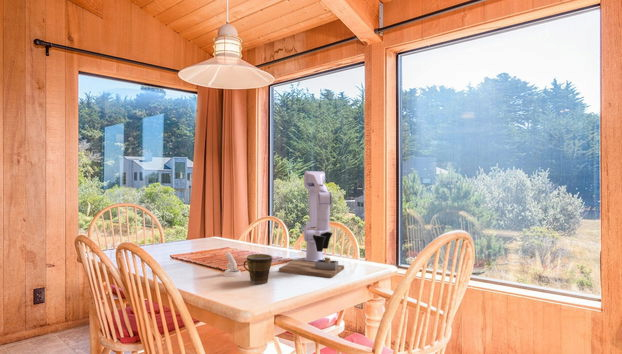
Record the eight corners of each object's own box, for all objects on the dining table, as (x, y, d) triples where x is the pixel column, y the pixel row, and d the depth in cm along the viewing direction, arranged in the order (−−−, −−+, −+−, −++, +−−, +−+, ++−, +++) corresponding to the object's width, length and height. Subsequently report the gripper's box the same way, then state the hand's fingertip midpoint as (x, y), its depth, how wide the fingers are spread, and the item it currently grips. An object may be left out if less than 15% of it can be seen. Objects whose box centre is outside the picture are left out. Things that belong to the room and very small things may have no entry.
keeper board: (295, 263, 191) (295, 250, 191) (344, 268, 182) (344, 255, 182) (278, 271, 174) (279, 257, 174) (331, 277, 165) (331, 263, 165)
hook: (213, 265, 160) (217, 253, 166) (224, 285, 167) (228, 272, 172) (230, 262, 159) (234, 250, 165) (241, 282, 165) (244, 270, 171)
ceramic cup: (259, 277, 164) (260, 252, 164) (277, 282, 157) (277, 256, 157) (234, 283, 154) (235, 257, 153) (252, 288, 147) (253, 261, 147)
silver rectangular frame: (318, 266, 180) (318, 259, 180) (338, 267, 177) (338, 261, 177) (315, 268, 174) (315, 262, 174) (335, 270, 172) (335, 263, 172)
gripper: (319, 217, 187) (319, 246, 187) (309, 220, 173) (308, 252, 173) (334, 218, 184) (333, 247, 184) (324, 221, 171) (323, 253, 171)
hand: (322, 250), depth 179 cm, fingers open, 7 cm apart
